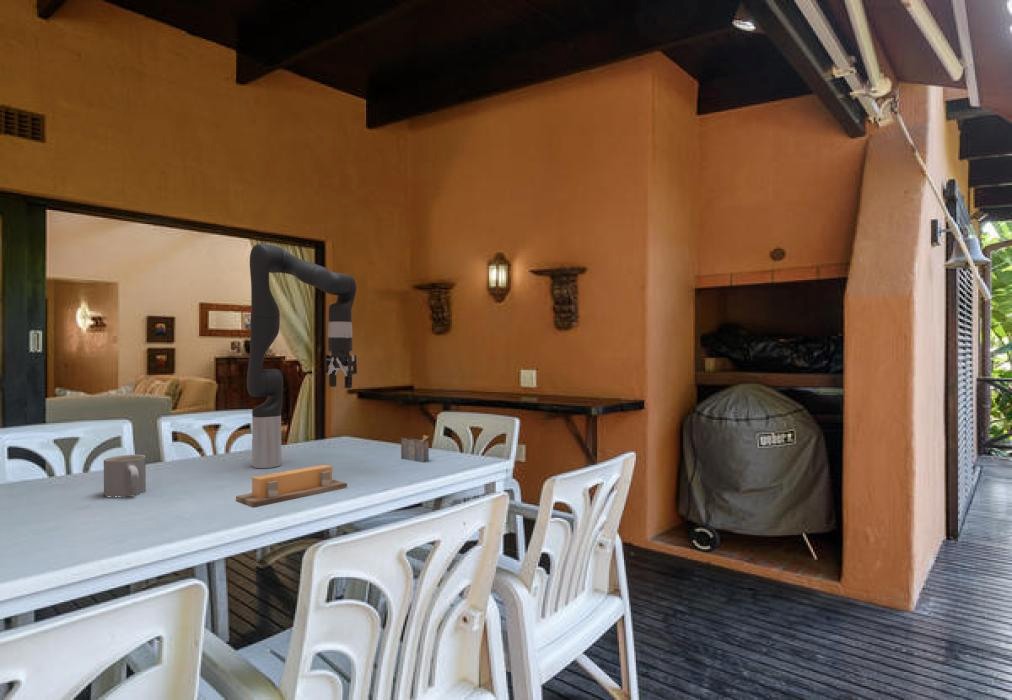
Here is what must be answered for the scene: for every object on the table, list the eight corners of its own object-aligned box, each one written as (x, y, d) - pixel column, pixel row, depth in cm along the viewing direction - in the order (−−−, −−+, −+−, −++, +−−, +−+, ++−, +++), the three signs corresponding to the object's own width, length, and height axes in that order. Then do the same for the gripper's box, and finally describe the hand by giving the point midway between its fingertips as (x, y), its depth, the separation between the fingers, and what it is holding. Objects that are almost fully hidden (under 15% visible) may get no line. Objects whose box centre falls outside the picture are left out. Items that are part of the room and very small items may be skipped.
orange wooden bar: (252, 495, 162) (252, 477, 162) (324, 481, 179) (324, 464, 179) (259, 498, 159) (259, 479, 159) (332, 483, 176) (332, 466, 176)
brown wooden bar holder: (236, 500, 162) (235, 481, 162) (327, 482, 183) (327, 465, 183) (254, 507, 155) (253, 487, 155) (347, 487, 176) (346, 469, 176)
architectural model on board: (429, 462, 215) (429, 435, 215) (423, 463, 213) (423, 436, 213) (407, 458, 222) (407, 432, 222) (401, 460, 220) (401, 433, 220)
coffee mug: (102, 492, 171) (102, 457, 171) (143, 487, 177) (142, 453, 177) (106, 502, 160) (106, 464, 160) (149, 496, 166) (149, 460, 166)
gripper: (317, 336, 193) (317, 387, 194) (343, 336, 184) (343, 389, 184) (337, 336, 199) (337, 385, 199) (363, 336, 190) (363, 387, 190)
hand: (340, 387), depth 192 cm, fingers open, 8 cm apart
